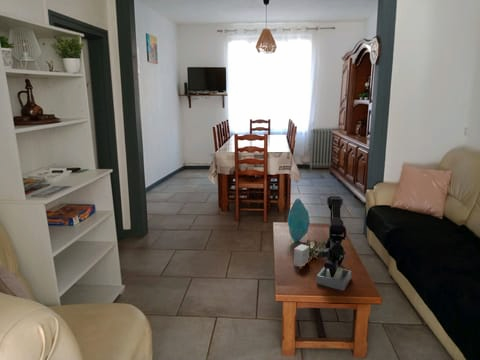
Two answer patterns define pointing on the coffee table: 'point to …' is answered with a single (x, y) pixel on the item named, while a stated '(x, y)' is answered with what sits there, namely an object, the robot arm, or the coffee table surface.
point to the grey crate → (332, 282)
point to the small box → (301, 254)
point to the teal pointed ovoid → (298, 220)
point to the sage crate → (337, 275)
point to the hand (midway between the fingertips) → (334, 274)
